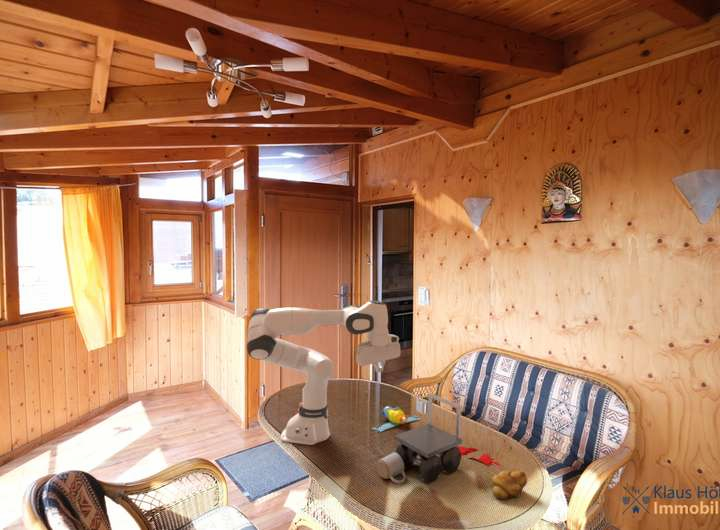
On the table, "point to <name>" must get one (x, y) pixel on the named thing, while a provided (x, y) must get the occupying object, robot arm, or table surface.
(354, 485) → the table surface
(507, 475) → the bread roll
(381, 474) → the ceramic mug
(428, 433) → the trolley
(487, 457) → the cloth
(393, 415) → the owl figurine
